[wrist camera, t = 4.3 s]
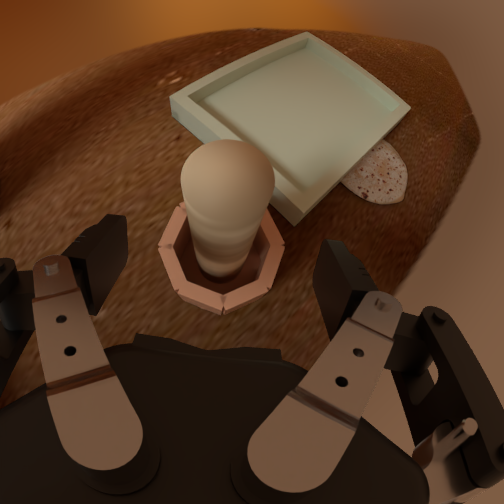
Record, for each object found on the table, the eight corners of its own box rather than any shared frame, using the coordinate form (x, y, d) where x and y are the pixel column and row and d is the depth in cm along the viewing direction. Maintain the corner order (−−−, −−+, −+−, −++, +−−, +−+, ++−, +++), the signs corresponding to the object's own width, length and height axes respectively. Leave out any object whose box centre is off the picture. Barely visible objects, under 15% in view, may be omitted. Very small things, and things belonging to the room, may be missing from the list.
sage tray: (294, 226, 22) (303, 213, 19) (172, 116, 23) (169, 96, 21) (400, 121, 27) (411, 107, 24) (301, 47, 28) (307, 31, 26)
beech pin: (190, 249, 20) (168, 156, 9) (231, 232, 20) (250, 129, 10) (208, 290, 19) (201, 235, 9) (250, 272, 20) (291, 200, 9)
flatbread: (310, 161, 24) (313, 154, 23) (353, 119, 26) (357, 113, 25) (383, 226, 23) (389, 221, 22) (416, 175, 25) (422, 170, 24)
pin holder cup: (158, 238, 20) (146, 216, 16) (244, 204, 22) (250, 177, 18) (195, 327, 19) (189, 326, 15) (285, 287, 20) (301, 275, 17)
